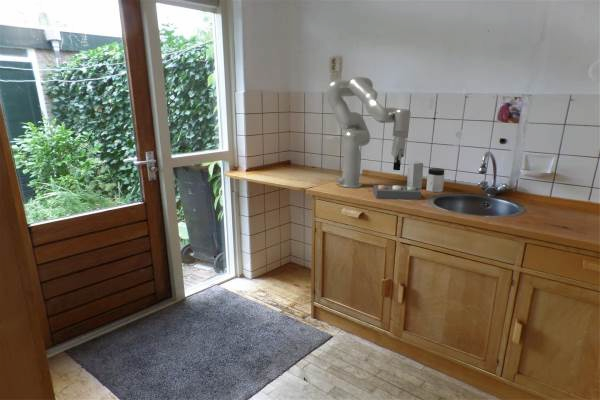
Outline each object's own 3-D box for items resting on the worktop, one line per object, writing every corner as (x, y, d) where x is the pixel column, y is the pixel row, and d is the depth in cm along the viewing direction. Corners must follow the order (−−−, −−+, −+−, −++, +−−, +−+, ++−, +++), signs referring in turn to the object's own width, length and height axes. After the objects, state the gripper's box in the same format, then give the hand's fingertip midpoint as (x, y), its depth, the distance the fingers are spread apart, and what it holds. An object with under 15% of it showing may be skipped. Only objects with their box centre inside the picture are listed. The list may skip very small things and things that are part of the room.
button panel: (376, 198, 199) (377, 190, 198) (373, 192, 210) (373, 185, 209) (420, 199, 198) (421, 192, 197) (414, 193, 209) (415, 186, 208)
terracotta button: (378, 193, 202) (378, 186, 201) (376, 191, 206) (377, 184, 205) (386, 193, 202) (387, 186, 201) (385, 191, 206) (385, 185, 205)
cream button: (392, 193, 201) (393, 187, 201) (391, 191, 206) (391, 185, 205) (401, 194, 201) (402, 187, 200) (399, 191, 206) (400, 185, 205)
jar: (423, 189, 220) (425, 168, 217) (434, 188, 223) (436, 167, 220) (434, 193, 212) (436, 171, 209) (445, 191, 215) (448, 170, 212)
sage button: (407, 194, 201) (408, 187, 200) (405, 192, 205) (406, 185, 204) (416, 194, 201) (416, 187, 200) (414, 192, 205) (414, 185, 204)
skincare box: (421, 189, 220) (424, 163, 216) (411, 189, 219) (414, 163, 215) (415, 185, 228) (418, 160, 224) (405, 186, 227) (408, 160, 223)
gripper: (390, 132, 204) (386, 166, 209) (395, 135, 190) (391, 172, 195) (404, 132, 204) (401, 167, 209) (411, 136, 190) (406, 173, 195)
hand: (396, 169), depth 202 cm, fingers closed
